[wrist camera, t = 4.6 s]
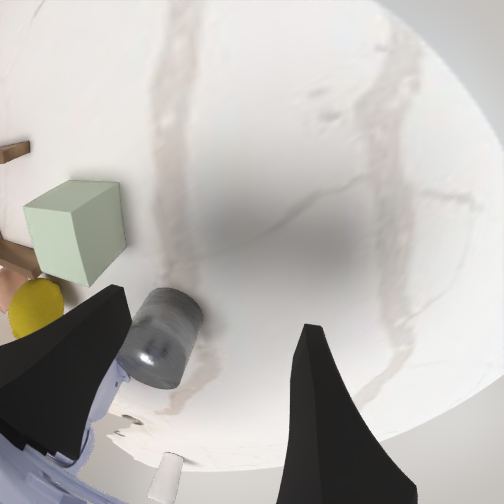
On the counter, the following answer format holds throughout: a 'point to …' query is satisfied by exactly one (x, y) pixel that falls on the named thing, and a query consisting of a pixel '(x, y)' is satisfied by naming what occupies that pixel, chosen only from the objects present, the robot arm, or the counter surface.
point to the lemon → (35, 306)
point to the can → (161, 338)
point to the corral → (12, 253)
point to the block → (77, 229)
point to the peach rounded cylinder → (9, 286)
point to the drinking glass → (166, 479)
